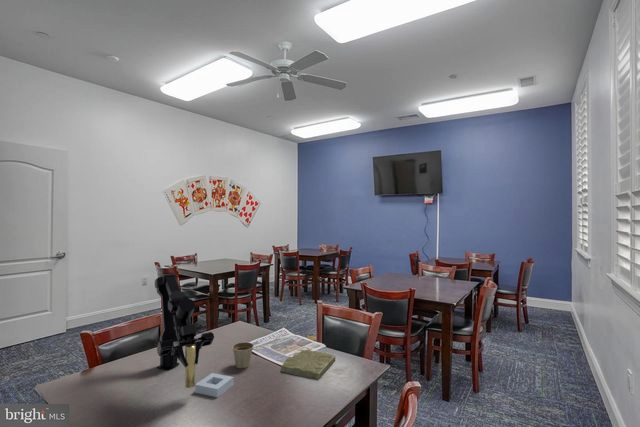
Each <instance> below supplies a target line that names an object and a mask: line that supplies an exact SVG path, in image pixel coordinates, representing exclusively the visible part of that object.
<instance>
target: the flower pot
mask: <svg viewBox="0 0 640 427" xmlns="http://www.w3.org/2000/svg"><path fill="white" fill-rule="evenodd" d="M254 345H255V344H254V343H252V342H248V341H242V342H241V341H240V342H237V343H235V344H233V345H232V346H231V349H232V352H233V356H234V364H235V367H236V368H237V369H247V368H249V367H250V366H251V360H252V353H253V349H254V347H255V346H254Z"/></svg>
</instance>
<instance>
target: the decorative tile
mask: <svg viewBox="0 0 640 427" xmlns="http://www.w3.org/2000/svg"><path fill="white" fill-rule="evenodd" d="M335 361H336V356H335V355H334V354H330V353H327V352H321V351H317V350H316V351H315V350H311V349H302V350H301V351H300V352H299V353H297V354H295V355H293V356H289V357H287V358H286V359H285V361H283V364H281V366H280V372H281V373H286V374H289V375H290V374H291V375H295V376H299V377H303V378H309V379H314V380H320V379H321V377H322V376H324V375H325V373H326V372H327V370H329V368H330V367H332V365H333V364H334V363H335Z"/></svg>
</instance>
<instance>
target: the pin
mask: <svg viewBox="0 0 640 427" xmlns="http://www.w3.org/2000/svg"><path fill="white" fill-rule="evenodd" d="M184 347H185V350H184V351H185V352H184V356H185V359H186V364H187V367H184V368H185V369H184V376H185V377H184V380H185V381H184V387H185V388H186V389H189V388H190V389H191V388H193V387H194V388H195V384H196V363H195V361H196V345H194V344H191V345H187V346H184Z"/></svg>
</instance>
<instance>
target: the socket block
mask: <svg viewBox="0 0 640 427" xmlns="http://www.w3.org/2000/svg"><path fill="white" fill-rule="evenodd" d="M234 383H235V382H234V376H230V375H226V374H220V373H215V372H211V373H210V374H209V375H207V376H206V377H204V378H202V379H201V380H200V381H198V382H197V383H195V386H194V393H196V394H200V395H203V396H204V395H205V396H209V397H214V398H219V397H221V396H222V395H223V394H224V393H225V392H226V391H228V390H229V389H230V388H232V387H233V386H234Z"/></svg>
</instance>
